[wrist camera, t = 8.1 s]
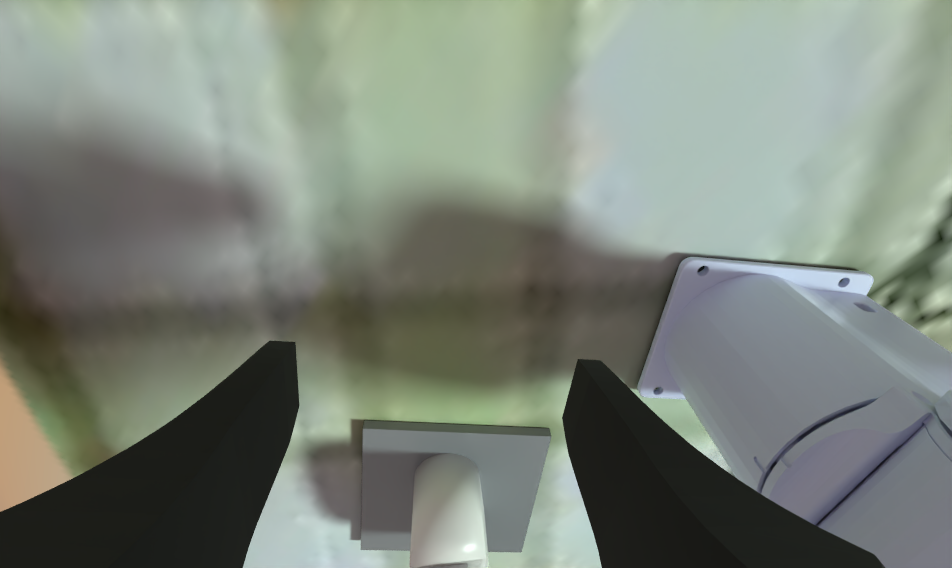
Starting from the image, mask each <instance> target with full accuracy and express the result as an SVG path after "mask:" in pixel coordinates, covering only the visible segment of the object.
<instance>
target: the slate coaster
mask: <svg viewBox="0 0 952 568" xmlns="http://www.w3.org/2000/svg"><path fill="white" fill-rule="evenodd" d="M550 440H551V433H550V429H549V428H527V427H504V426H482V425H459V424H436V423H413V422H390V421H367V420H364V425H363V449H362V507H361V550H404V551H410V549H411V531H412V513H413V495H414V477H415V471H416V469H417V467H418V466H419V465H420V464H421V463H422V462H423V461H424V460H426V459H427V458H429V457H432V456H434V455H438V454H445V453H452V454H458V455H462V456H464V457H467V458H468V459H470V460H471V461H472V462H474V464H475V465H476V466H477V468H478V471H479V477H480V484H481V491H482V499H483V506H484V515H485V526H486V537H487V549H488V552H522V548H523V544H524V540H525V536H526V533H527V529H528V525H529V521H530V517H531V513H532V509H533V506H534V502H535V498H536V494H537V490H538V486H539V482H540V479H541V475H542V471H543V467H544V463H545V459H546V455H547V452H548V448H549V444H550Z"/></svg>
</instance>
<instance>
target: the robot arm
mask: <svg viewBox="0 0 952 568" xmlns="http://www.w3.org/2000/svg"><path fill="white" fill-rule="evenodd" d="M702 266H705V268H704V269H703V270H702V271H701V272H698V269H699V268H700V267H702ZM841 279H843V280H842V281H841V282H840V283H839V281H840V280H841ZM872 284H873V277H872V276H871V275H870V274H868V273H867V272H864V271H853V270H841V269H830V268H818V267H807V266H795V265H783V264H772V263H760V262H748V261H737V260H725V259H713V258H702V257H688V258H686V259H684V260H683V261H682V262H681V263H680V265H679V267H678V270H677V273H676V276H675V279H674V282H673V285H672V288H671V291H670V293H669V296H668V299H667V302H666V305H665V308H664V311H663V314H662V316H661V319H660V322H659V325H658V328H657V331H656V334H655V337H654V340H653V342H652V345H651V348H650V351H649V354H648V357H647V360H646V363H645V366H644V368H643V371H642V374H641V377H640V380H639V383H638V386H637V389H638V391H639V393H640V395H641V396H643V397H650V398H669V399H686V400H687V401H688V403H689V404H690V406H691V407H692V409H693V411H694V412H695V414H696V415H697V417H698V418H699V420H700V422H701V423H702V425H703V426H704V428H705V429H706V431H707V433H708V434H709V436H710V437H711V439H712V441H713V442H714V444H715V445H716V447H717V448H718V450H719V452H720V453H721V455H722V456H723V458H724V459H725V461H726V463H727V464H728V466H729V467H730V469H731V470H732V472H733V474H734V475H735V477H736V478H735V477H734V476H732V475H731V474H730V473H728V472H727V471H725V470H724V469H722V468H721V467H720V466H718V465H717V464H716V463H714V462H713V461H712V460H710V459H709V458H708V457H706V456H705V455H704V454H702V453H701V452H700V451H698V450H697V449H696V448H694V447H693V446H692V445H691V444H689V443H688V442H687V441H686V440H685V439H683V438H682V437H681V436H680V435H679V434H678V433H676V432H675V431H674V430H673V429H672V428H671V427H669V426H668V425H667V424H666V423H665V422H664V421H663V420H662V419H661V418H659V417H658V416H657V415H656V414H655V413H654V412H653V411H652V410H651V409H650V408H649V407H648V406H647V405H646V404H644V403H643V402H642V401H641V400H640V399H639V398H638V397H637V396H636V395H635V394H634V393H633V392H632V391H631V390H630V389H629V388H628V387H627V386H626V385H625V384H624V383H623V382H622V381H621V380H620V379H619V378H618V377H617V376H616V375H615V374H614V373H613V372H612V371H611V370H610V369H609V368H608V367H607V366H606V365H605V364H604V363H603V362H601V361H600V360H583V359H578V361H577V365H576V368H575V372H574V376H573V380H572V383H571V387H570V391H569V395H568V398H567V402H566V406H565V410H564V413H563V417H562V419H563V425H564V431H565V438H566V443H567V448H568V453H569V457H570V460H571V463H572V467H573V470H574V473H575V476H576V480H577V483H578V486H579V489H580V492H581V495H582V498H583V501H584V505H585V508H586V511H587V514H588V517H589V520H590V523H591V527H592V530H593V533H594V536H595V540H596V544H597V547H598V551H599V556H600V561H601V565H602V568H952V353H951V352H950V351H948V350H947V349H945V348H944V347H942V346H941V345H939V344H938V343H936V342H935V341H933V340H932V339H930V338H929V337H927V336H926V335H924V334H923V333H921V332H920V331H918V330H917V329H915V328H914V327H912V326H911V325H909V324H908V323H906V322H905V321H903V320H902V319H900V318H899V317H897V316H896V315H894V314H893V313H891V312H890V311H888V310H887V309H885V308H884V307H882V306H881V305H879V304H878V303H876V302H875V301H873V300H872V299H870V298H869V297H867V296H866V295H867V293H868V291H869V290H870V288H871V286H872ZM657 387H659V388H658V389H657V390H654V389H655V388H657ZM298 409H299V394H298V377H297V361H296V345H295V342H283V341H269V342H268V343H266V344H265V345H264V346H263V347H262V348H260V349H259V350H258V351H257V352H256V353H255V354H254V355H252V356H251V357H250V358H249V359H248V360H247V361H246V362H244V363H243V364H242V365H241V366H240V367H239V368H238V369H236V370H235V371H234V372H233V373H232V374H231V375H229V376H228V377H227V378H226V379H225V380H223V381H222V382H221V383H220V384H219V385H217V386H216V387H215V388H214V389H212V390H211V391H210V392H209V393H208V394H206V395H205V396H204V397H203V398H201V399H200V400H199V401H197V402H196V403H195V404H193V405H192V406H191V407H189V408H188V409H187V410H185V411H184V412H183V413H181V414H180V415H179V416H177V417H176V418H174V419H173V420H172V421H170V422H169V423H167V424H166V425H164V426H163V427H161V428H160V429H158V430H157V431H155V432H154V433H152V434H150V435H149V436H147V437H146V438H144V439H142V440H141V441H139V442H138V443H136V444H134V445H133V446H131V447H129V448H128V449H126V450H124V451H122V452H121V453H119V454H117V455H115V456H113V457H112V458H110V459H108V460H106V461H104V462H103V463H101V464H99V465H97V466H95V467H93V468H92V469H90V470H88V471H86V472H84V473H83V474H81V475H79V476H77V477H75V478H73V479H71V480H69V481H67V482H65V483H63V484H61V485H59V486H57V487H55V488H52V489H50V490H49V491H46V492H44V493H42V494H40V495H37V496H35V497H34V498H31V499H29V500H27V501H25V502H22V503H20V504H18V505H16V506H13V507H11V508H9V509H6V510H4V511H2V512H0V568H243V565H244V561H245V558H246V554H247V551H248V548H249V544H250V542H251V539H252V536H253V533H254V530H255V528H256V525H257V522H258V520H259V518H260V515H261V513H262V510H263V508H264V505H265V503H266V500H267V498H268V495H269V493H270V490H271V488H272V486H273V483H274V481H275V478H276V476H277V473H278V471H279V468H280V466H281V463H282V461H283V458H284V456H285V453H286V451H287V448H288V445H289V443H290V439H291V436H292V432H293V428H294V425H295V421H296V417H297V413H298Z"/></svg>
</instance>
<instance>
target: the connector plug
mask: <svg viewBox="0 0 952 568" xmlns="http://www.w3.org/2000/svg"><path fill="white" fill-rule="evenodd" d="M410 568H489V560H488V549H487V537H486V526H485V515H484V506H483V499H482V491H481V484H480V477H479V471H478V468H477V466H476V465H475V464H474V462H472V461H471V460H470V459H468V458H467V457H464V456H462V455H458V454H452V453H445V454H438V455H434V456H432V457H429V458H427V459H426V460H424V461H423V462H422V463H421V464H420V465H419V466H418V467H417V469H416V471H415V477H414V495H413V513H412V531H411V549H410Z"/></svg>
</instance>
